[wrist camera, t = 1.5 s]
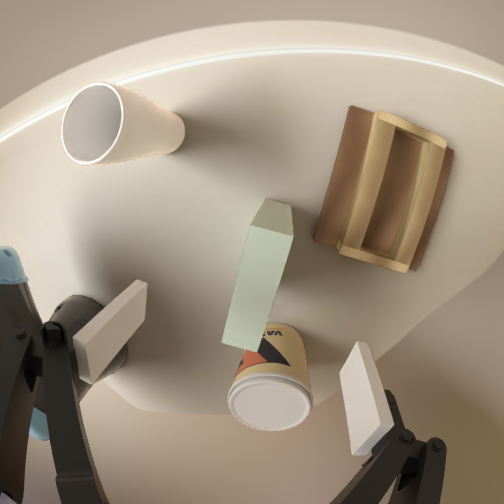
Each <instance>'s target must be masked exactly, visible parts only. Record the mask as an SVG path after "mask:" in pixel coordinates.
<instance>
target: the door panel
mask: <svg viewBox="0 0 504 504" xmlns="http://www.w3.org/2000/svg"><path fill="white" fill-rule="evenodd" d="M293 237H294V234H293V221H292V209H291V205H289V204H285V203H281V202H278V201H274V200H270V199H265V200H264V202H263V204H262V205H261V207H260V209H259V211H258V212H257V214H256V216H255V218H254V219H253V221H252V223H251V224H250V228H249V232H248V236H247V240H246V244H245V248H244V252H243V256H242V260H241V264H240V268H239V272H238V276H237V280H236V284H235V288H234V292H233V296H232V300H231V304H230V309H229V313H228V317H227V321H226V325H225V329H224V333H223V337H222V342H221V343H224V344H228V345H231V346H235V347H238V348H242V349H246V350H250V351H253V352H257V351H258V348H259V345H260V342H261V339H262V336H263V333H264V330H265V327H266V324H267V321H268V318H269V315H270V312H271V308H272V305H273V302H274V299H275V296H276V293H277V290H278V287H279V283H280V280H281V277H282V274H283V270H284V267H285V264H286V261H287V257H288V254H289V251H290V248H291V244H292V241H293Z"/></svg>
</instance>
